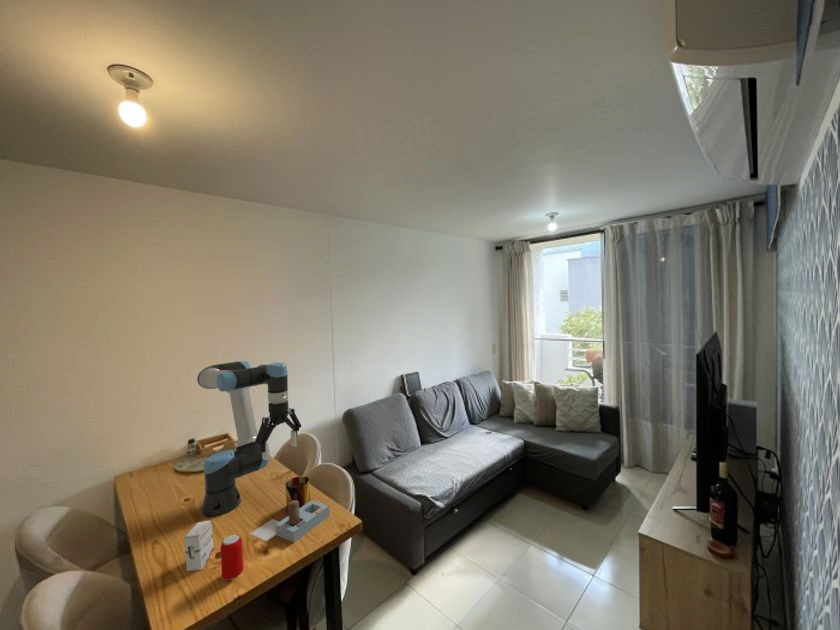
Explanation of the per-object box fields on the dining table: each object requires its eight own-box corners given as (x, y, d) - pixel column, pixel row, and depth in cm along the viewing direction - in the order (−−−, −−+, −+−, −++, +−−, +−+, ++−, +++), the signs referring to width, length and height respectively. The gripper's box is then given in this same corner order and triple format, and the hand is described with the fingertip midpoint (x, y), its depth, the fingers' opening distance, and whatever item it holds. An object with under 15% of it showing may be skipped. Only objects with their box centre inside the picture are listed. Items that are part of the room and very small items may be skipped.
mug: (294, 523, 136) (293, 494, 135) (283, 508, 146) (282, 481, 146) (317, 513, 142) (316, 485, 141) (305, 500, 152) (304, 474, 152)
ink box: (200, 553, 121) (198, 521, 120) (214, 552, 121) (212, 519, 121) (185, 572, 112) (183, 537, 112) (201, 570, 112) (199, 535, 112)
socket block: (276, 537, 128) (275, 523, 127) (312, 511, 143) (311, 499, 143) (294, 545, 123) (293, 531, 123) (329, 517, 138) (329, 505, 138)
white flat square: (250, 536, 129) (249, 533, 129) (272, 521, 138) (272, 518, 138) (266, 544, 124) (266, 541, 124) (289, 528, 133) (289, 525, 133)
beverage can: (233, 566, 114) (231, 531, 113) (247, 569, 112) (245, 534, 112) (217, 580, 108) (215, 543, 108) (232, 584, 106) (230, 547, 106)
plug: (287, 535, 128) (286, 504, 128) (295, 529, 132) (294, 499, 132) (294, 538, 127) (292, 506, 126) (302, 532, 130) (300, 501, 130)
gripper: (256, 411, 124) (258, 467, 125) (308, 394, 146) (310, 442, 146) (243, 408, 128) (245, 463, 129) (296, 392, 149) (298, 439, 150)
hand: (280, 452), depth 137 cm, fingers open, 13 cm apart
